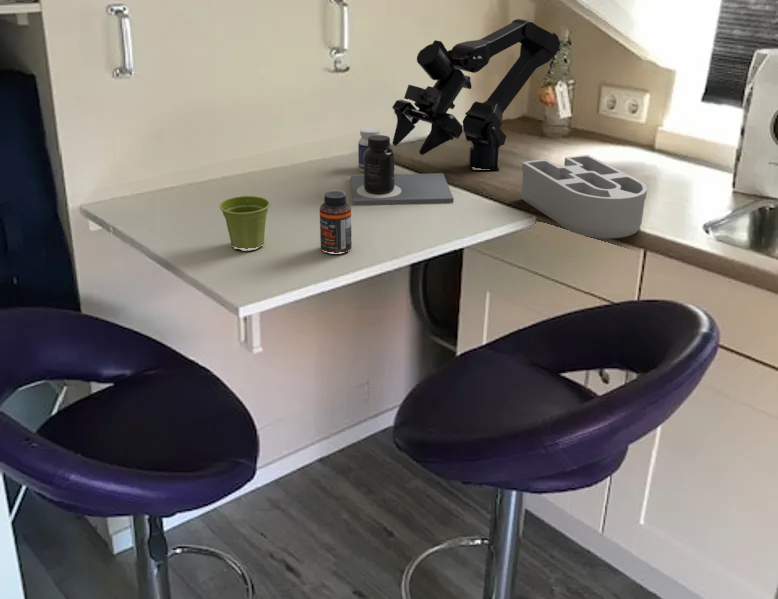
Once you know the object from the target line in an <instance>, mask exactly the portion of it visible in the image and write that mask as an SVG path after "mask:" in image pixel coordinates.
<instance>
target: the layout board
mask: <svg viewBox="0 0 778 599" xmlns="http://www.w3.org/2000/svg"><path fill="white" fill-rule="evenodd" d="M350 187H351V196H352V205H353V206H367V205H368V206H371V205H373V206H374V205H379V206H380V205H409V204H411V205H412V204H413V205H417V204H421V205H422V204H453V203H454V200H455V199H454V197H453V194H452V191H451V189H450V186H449V184H448V182H447V179H446V177H445V174H444V173H443V172H440V173H439V172H438V173H402V174H401V173H399V174H398V173H394V190H393V191H392V192H391V193H388V194H371V193H368V192H366V191H365V189H364V174H355V175H354V174H352V175H350Z"/></svg>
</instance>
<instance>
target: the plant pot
mask: <svg viewBox="0 0 778 599" xmlns="http://www.w3.org/2000/svg"><path fill="white" fill-rule="evenodd" d="M270 206H271V203H270V201H269V199H267V198H265V197H262V196H256V195H242V196H241V195H240V196H233V197H231V198H227V199H225V200H223V201H221V203H220V204H219V209H220V210H221V211H222V215H223V217H224V219H225V222H226V226H227V231H228V235H229V239H230V243H231V247H232V246H234V247H237V248H245V249H248V248H256V247H259V246H261V245H263V244H264V245H265V232H266V221H267V214H268V211H269V208H270Z"/></svg>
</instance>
